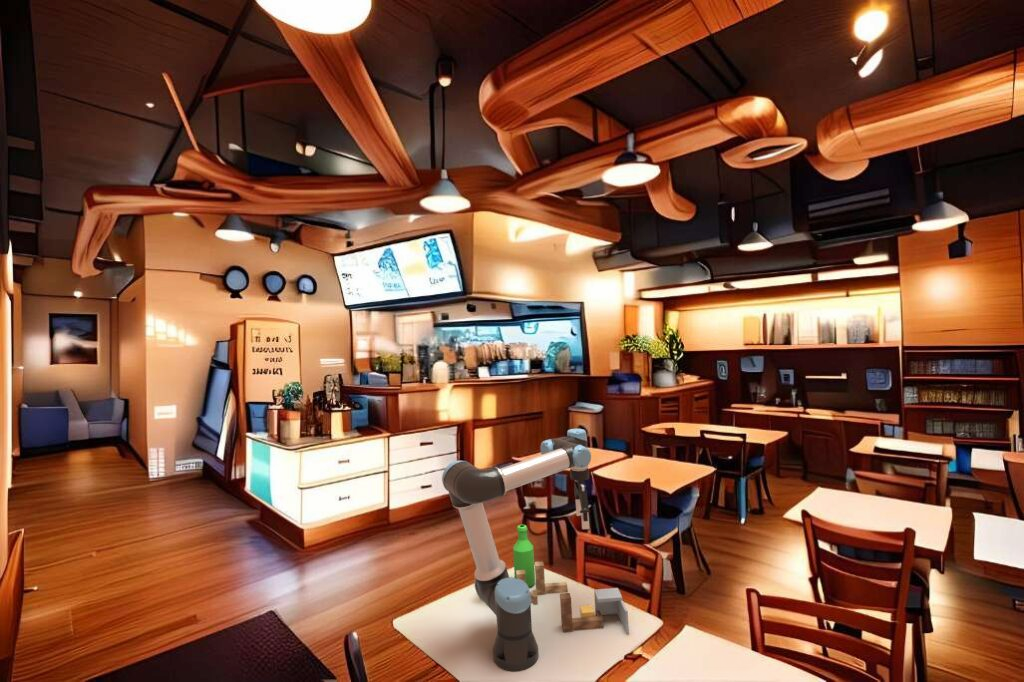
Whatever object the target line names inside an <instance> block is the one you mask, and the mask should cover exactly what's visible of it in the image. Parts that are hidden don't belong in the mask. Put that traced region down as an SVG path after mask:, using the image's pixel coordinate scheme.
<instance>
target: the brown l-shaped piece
mask: <svg viewBox="0 0 1024 682" xmlns="http://www.w3.org/2000/svg"><path fill="white" fill-rule="evenodd" d="M559 598H560V599H559V601H560V617H561V618H560V619H561V621H560V622H561V628H562V632H563V633H573V632H574V631H583V630H585V631H586V630H597V628H599V629H604V628H605V627H604V618H603V615H601V613H600V611H596V614H595V616H594V617H582V618H581V617H573V610H572V597H571V593H570V592H563V593H559Z"/></svg>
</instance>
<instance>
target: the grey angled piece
mask: <svg viewBox="0 0 1024 682" xmlns="http://www.w3.org/2000/svg"><path fill="white" fill-rule="evenodd" d="M593 592H594V614H595V615H596V611H600V613H601V615H602V616H606V615H608V614H611V615H617V617H618V618H619V620H620V623H621V625H622V627H623V629H625V630H624V631H625V634H626V635H630V631H629V630H630V629H629V613H628V611H629V610H628V608H627V607H626V605H625V602H624V601H623V596H622V593H621V591H620V589H619V588H618V587H611V588H599V589H594V590H593Z"/></svg>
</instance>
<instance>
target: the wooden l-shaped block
mask: <svg viewBox="0 0 1024 682" xmlns="http://www.w3.org/2000/svg"><path fill="white" fill-rule="evenodd" d="M534 568H535V590H536V591H537V596H541V595H542V596H544V595H548V594H562V593H569V592H568V583H567V581H559V582H549V583H546V579H545V565H544V561H534Z"/></svg>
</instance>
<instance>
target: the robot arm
mask: <svg viewBox="0 0 1024 682" xmlns="http://www.w3.org/2000/svg"><path fill="white" fill-rule="evenodd" d="M566 433H567V436H566V435H565V436H562V437H561V436H560V437H557V438H550V439H546V440H543V441H542V442H541V444H540V455H537V456H534V457H530V458H528V459H525V460H522V461H519V462H515V463H513V464H510V465H507V466H504V467H501V468H498V467H497V466H494V467H491V468H487V469H485V468H484V469H483V468H478V467H477V466H475V465H473V464H471V463H470V462H468V461H466V460H455V461H453V462H451V463H449V464H448V465H447V466H446V468H445V469H444V470H443V472H442V474H441V475H442V477H441V482H442V485H443V487H444V489H445V490H446V491H448V494H449V498H450V501H451V504H452V507H453V508H456V509H458V511H459V515H460V518H461V522H462V525H463V528H464V532H465V535H466V537H467V538H466V539H467V541H468V544H469V548H470V551H471V554H472V557H473V561H474V564H475V568H476V569H475V570H474V582H473V583H474V589H475V591H476V594H477V595H478V597H479V598H480V600H481V601H483V602H484V603H485V605H486V606H487V607H488V608H489V609H490V610H491V611H492V612H493V614H494V615H495V618H496V631H497V632H496V633H497V634H496V637H495V641H494V644H493V649H492V657H493V658H492V659H493V662H494V663H495V664H496V665H497V667H499V668H500V669H503V670H506V671H511V672H518V671H523V670H524V671H525V670H526V669H528V668H531V667H532V666H533V665H535V664H536V662H537V661H538V659H539V646H538V643H537V641H536V637H535V635H534V632H533V627H532V626H533V625H532V623H533V622H532V608H531V607H532V605H531V604H532V603H531V596H530V592H531V591H530V587H528V585H527V584H526V583H525V582H524V581H523V580H521V579H516V578H515V577H510V575H509V573H508V569H507V566H506V565H507V564H506V562H505V561H504V560H502V559H500V557H499V553H498V551H497V547H496V544H495V540H494V536H493V534H492V530H491V527H490V526H491V525H490V523H489V520H488V517H487V513H486V510H485V507H484V504H483V503H486V502H489V501H492V500H496V499H498V498H502V497H503V496H505V495H506V493H507V492H508V491H511V490H513V489H516V488H519V487H522V486H524V485H527V484H530V483H533V482H535V481H538V480H541V479H543V478H546V477H550V476H551V475H554V474H557V473H560V472H563V471H565V470H568V469H569V477H570V479H571V480H572V481H574V490H573V492H574V494H573V496H574V498H575V511H576V516H577V517H580V518H581V519H580V520H581V530H589V529H590V517H589V513H590V508H589V501H588V491H587V484H586V482H585V481H587V480H589V479H590V469H589V464H590V462H591V460H592V453H591V450H589V448H588V437H587V432H586V430H585V429H582V428H571V429H568V430H567V432H566Z"/></svg>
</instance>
